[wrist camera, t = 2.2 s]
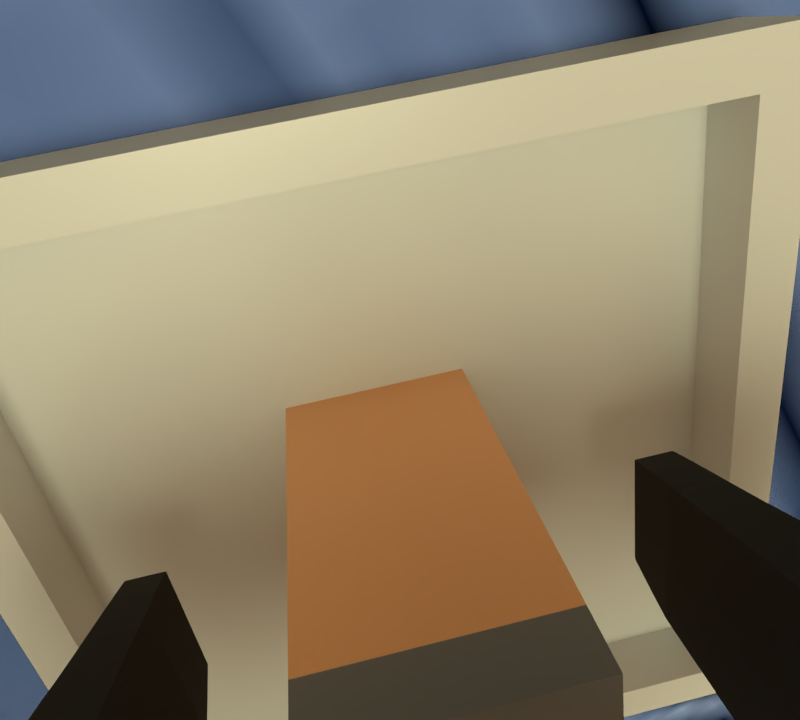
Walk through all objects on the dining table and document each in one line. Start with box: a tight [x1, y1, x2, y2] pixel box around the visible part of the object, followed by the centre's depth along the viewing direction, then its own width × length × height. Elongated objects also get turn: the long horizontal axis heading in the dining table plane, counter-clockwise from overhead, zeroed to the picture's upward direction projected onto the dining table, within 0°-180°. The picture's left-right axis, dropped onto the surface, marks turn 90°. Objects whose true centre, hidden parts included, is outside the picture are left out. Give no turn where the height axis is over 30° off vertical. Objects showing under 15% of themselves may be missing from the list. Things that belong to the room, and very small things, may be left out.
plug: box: [286, 369, 624, 720], centre depth 9 cm, size 4×3×6 cm
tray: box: [0, 15, 800, 720], centre depth 12 cm, size 13×13×2 cm
